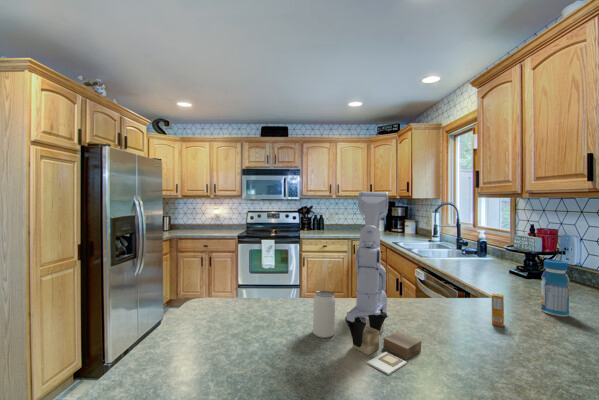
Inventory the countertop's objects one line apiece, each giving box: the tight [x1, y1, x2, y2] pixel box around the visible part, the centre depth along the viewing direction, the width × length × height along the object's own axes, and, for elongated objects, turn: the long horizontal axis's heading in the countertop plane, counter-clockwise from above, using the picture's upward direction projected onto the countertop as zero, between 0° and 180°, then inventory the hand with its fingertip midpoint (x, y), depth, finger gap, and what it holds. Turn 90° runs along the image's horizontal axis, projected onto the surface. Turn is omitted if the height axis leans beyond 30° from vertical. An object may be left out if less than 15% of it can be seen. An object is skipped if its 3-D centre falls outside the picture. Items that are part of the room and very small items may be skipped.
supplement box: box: [491, 293, 505, 328], centre depth 97 cm, size 3×3×10 cm
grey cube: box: [364, 317, 385, 334], centre depth 89 cm, size 4×4×4 cm
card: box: [366, 351, 407, 376], centre depth 70 cm, size 8×6×1 cm
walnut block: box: [383, 331, 422, 360], centre depth 78 cm, size 7×7×3 cm
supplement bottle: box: [540, 259, 571, 317], centre depth 110 cm, size 8×8×20 cm
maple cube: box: [352, 325, 380, 356], centre depth 78 cm, size 5×5×5 cm
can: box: [312, 290, 336, 339], centre depth 86 cm, size 6×6×12 cm
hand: (365, 341), depth 78 cm, fingers open, 7 cm apart
